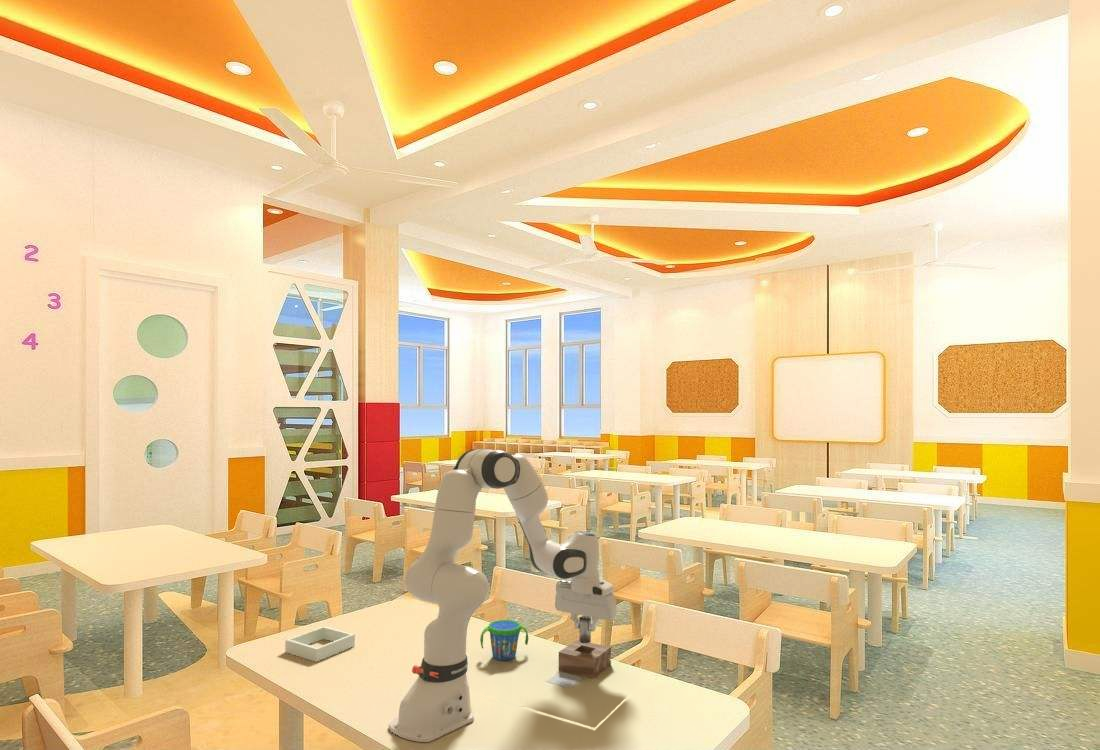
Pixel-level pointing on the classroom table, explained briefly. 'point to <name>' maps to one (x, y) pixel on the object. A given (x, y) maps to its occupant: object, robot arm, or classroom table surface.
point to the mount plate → (564, 679)
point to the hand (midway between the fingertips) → (584, 629)
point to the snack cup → (504, 638)
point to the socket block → (585, 659)
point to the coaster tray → (304, 650)
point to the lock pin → (584, 629)
